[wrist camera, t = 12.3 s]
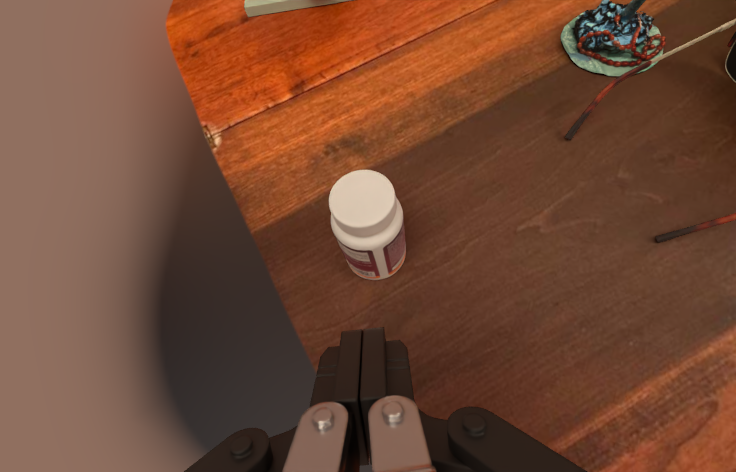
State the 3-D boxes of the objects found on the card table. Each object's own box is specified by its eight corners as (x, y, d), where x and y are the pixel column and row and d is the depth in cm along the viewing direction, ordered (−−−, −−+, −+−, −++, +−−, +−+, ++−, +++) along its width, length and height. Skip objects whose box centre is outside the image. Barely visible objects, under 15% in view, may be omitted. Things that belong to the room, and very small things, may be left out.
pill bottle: (392, 217, 32) (385, 153, 24) (415, 268, 30) (414, 215, 22) (338, 237, 31) (312, 179, 24) (356, 290, 29) (335, 244, 22)
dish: (645, -23, 37) (665, -31, 31) (661, 52, 39) (683, 59, 33) (554, 21, 41) (556, 22, 35) (573, 87, 43) (578, 99, 37)
